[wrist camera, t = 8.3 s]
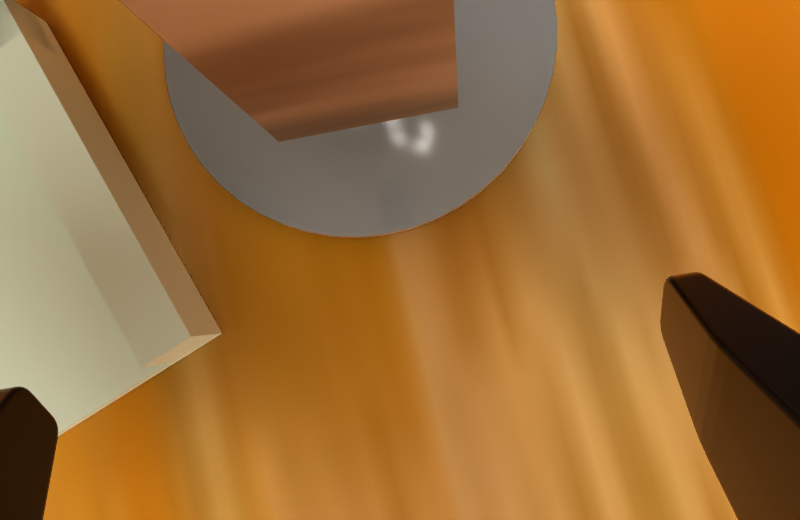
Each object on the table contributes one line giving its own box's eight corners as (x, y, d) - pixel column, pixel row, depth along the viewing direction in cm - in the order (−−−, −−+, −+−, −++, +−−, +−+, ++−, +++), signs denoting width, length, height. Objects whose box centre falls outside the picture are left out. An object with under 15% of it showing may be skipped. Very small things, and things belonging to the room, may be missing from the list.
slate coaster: (624, -44, 17) (630, -56, 16) (436, 308, 17) (435, 308, 16) (285, -192, 19) (279, -208, 18) (108, 131, 18) (96, 125, 18)
